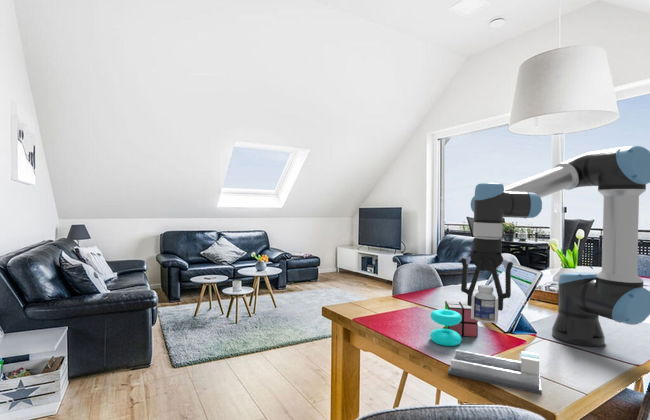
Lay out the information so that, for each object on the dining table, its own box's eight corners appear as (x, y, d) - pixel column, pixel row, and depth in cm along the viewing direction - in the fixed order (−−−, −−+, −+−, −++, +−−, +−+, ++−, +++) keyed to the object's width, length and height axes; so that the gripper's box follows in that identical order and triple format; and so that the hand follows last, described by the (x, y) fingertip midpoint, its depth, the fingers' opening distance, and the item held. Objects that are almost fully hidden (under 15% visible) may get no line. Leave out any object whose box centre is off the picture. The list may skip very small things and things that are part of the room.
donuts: (455, 308, 129) (466, 317, 119) (455, 336, 129) (466, 347, 119) (427, 308, 129) (435, 316, 119) (426, 336, 129) (435, 347, 119)
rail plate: (539, 376, 100) (539, 363, 100) (541, 394, 90) (541, 380, 90) (454, 359, 110) (454, 347, 110) (448, 374, 100) (448, 361, 100)
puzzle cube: (477, 337, 128) (478, 309, 128) (447, 335, 130) (448, 307, 130) (472, 328, 138) (472, 302, 138) (444, 326, 140) (444, 300, 140)
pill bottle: (472, 316, 107) (473, 283, 107) (492, 318, 106) (493, 285, 106) (476, 322, 102) (477, 287, 102) (496, 324, 101) (498, 289, 101)
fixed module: (538, 376, 97) (538, 353, 97) (539, 385, 93) (539, 361, 92) (520, 372, 99) (521, 350, 99) (520, 381, 94) (521, 357, 94)
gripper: (524, 239, 103) (521, 321, 103) (455, 235, 112) (452, 311, 112) (524, 241, 96) (521, 329, 96) (451, 236, 105) (448, 317, 105)
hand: (484, 319), depth 104 cm, fingers closed on pill bottle, 5 cm apart
